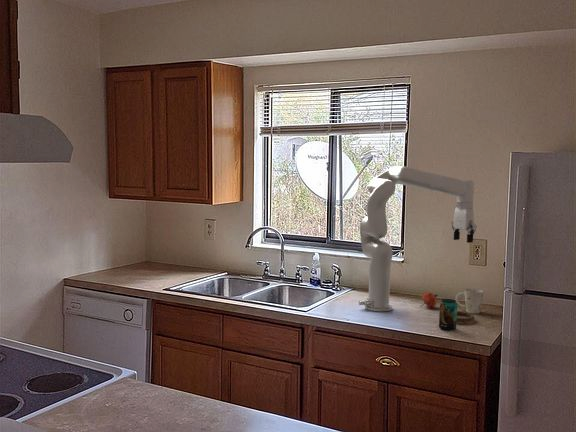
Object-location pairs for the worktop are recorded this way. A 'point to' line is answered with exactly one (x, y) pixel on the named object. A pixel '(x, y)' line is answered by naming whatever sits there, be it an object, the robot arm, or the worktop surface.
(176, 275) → the worktop surface
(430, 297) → the pomegranate
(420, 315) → the worktop surface
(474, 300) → the mug
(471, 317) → the tray
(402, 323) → the worktop surface
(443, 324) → the beverage can
